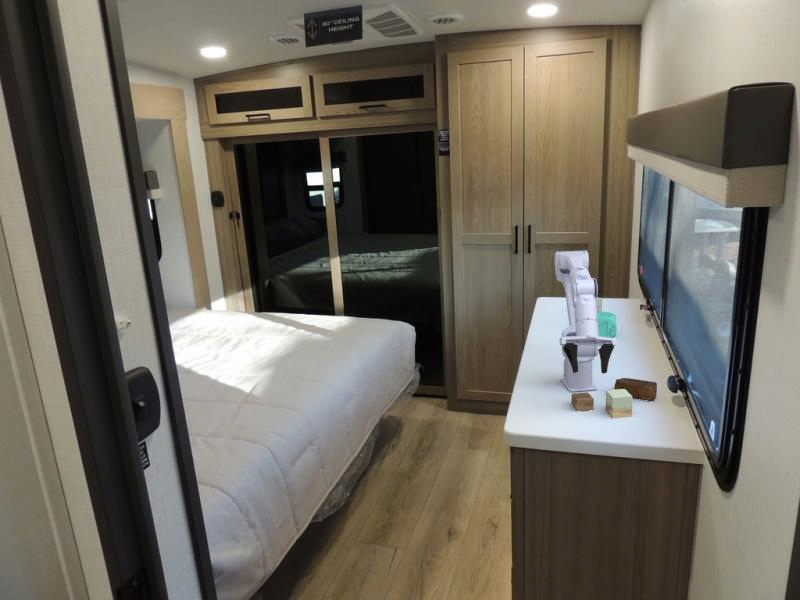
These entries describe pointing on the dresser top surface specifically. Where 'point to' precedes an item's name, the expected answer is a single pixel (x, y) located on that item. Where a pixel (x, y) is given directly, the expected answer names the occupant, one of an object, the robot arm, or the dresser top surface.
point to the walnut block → (582, 401)
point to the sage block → (618, 398)
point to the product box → (599, 304)
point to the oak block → (618, 411)
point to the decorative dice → (606, 324)
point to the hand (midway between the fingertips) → (590, 372)
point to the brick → (638, 388)
